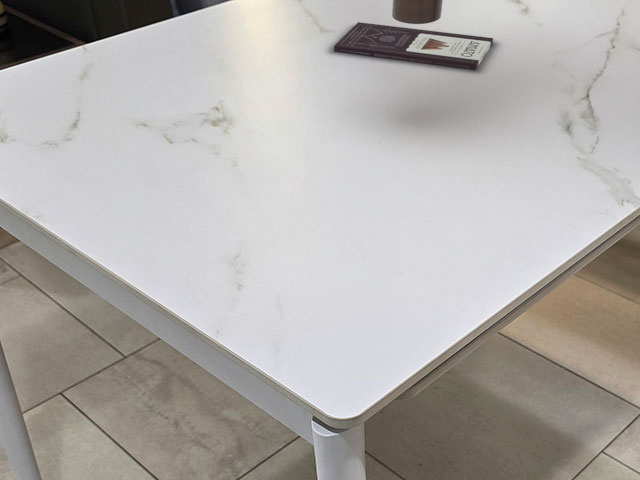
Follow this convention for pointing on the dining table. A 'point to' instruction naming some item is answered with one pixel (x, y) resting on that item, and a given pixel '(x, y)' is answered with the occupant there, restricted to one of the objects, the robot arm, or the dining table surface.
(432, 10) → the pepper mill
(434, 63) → the chocolate bar
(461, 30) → the dining table surface
